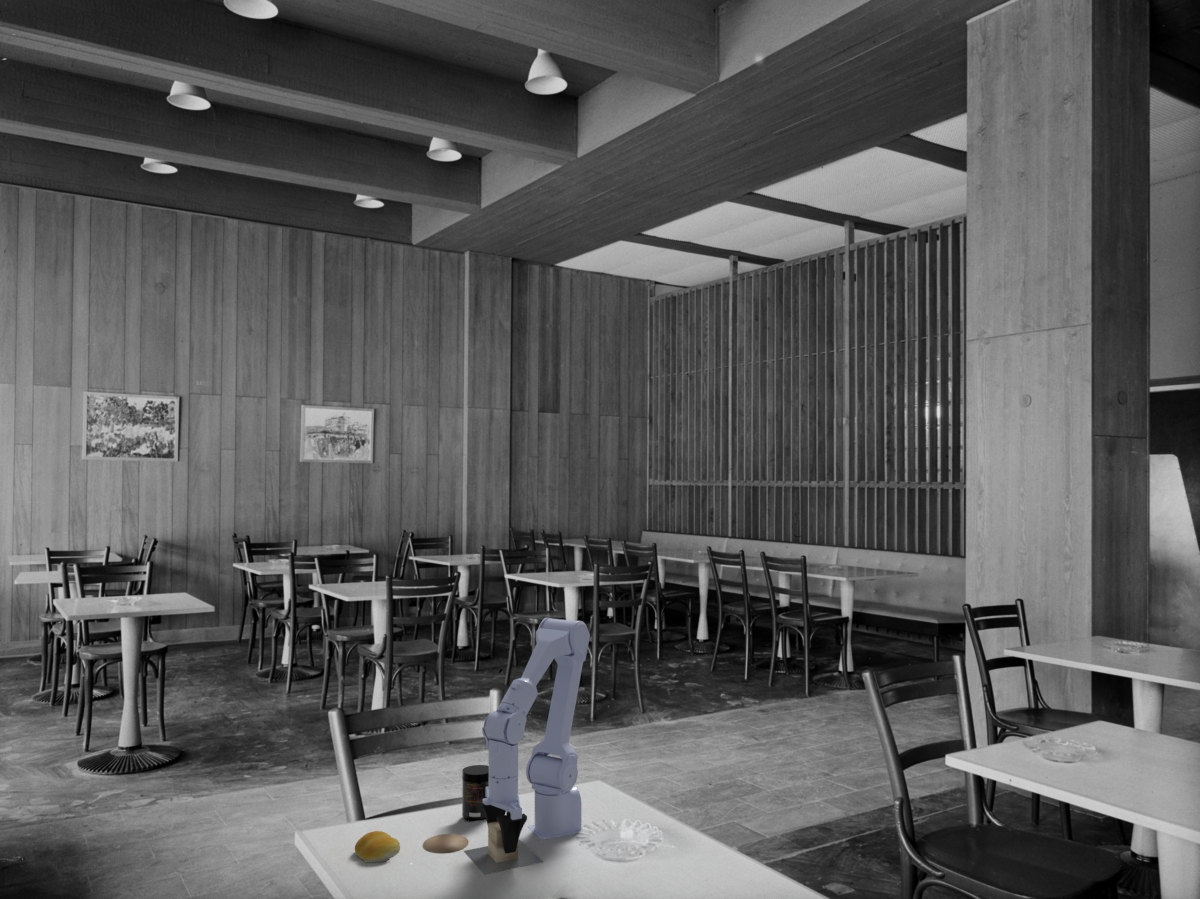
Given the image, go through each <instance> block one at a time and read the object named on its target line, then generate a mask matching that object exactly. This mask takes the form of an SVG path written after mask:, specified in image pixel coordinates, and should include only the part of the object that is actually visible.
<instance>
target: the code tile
mask: <svg viewBox="0 0 1200 899" xmlns="http://www.w3.org/2000/svg"><path fill="white" fill-rule="evenodd" d="M463 852H464V853H465V854H466V856H467V857H468V858H469V859H470V861H472V862H473V863H474V864H475V866H476V867H477V868H478V869H479V870H480V871H481V872H482V873H483V874H484V875H490V874H495V873H499V872H502V871H507V870H512V869H517V868H523V867H526V866H532V865H536V864H541V863H544V862H545V861H544V860H542V859H541V858H540V857H539V856H538V855H537V854H536V853H535V852H534V851H533V850H532V849H531V848H530V847H528V846H527V845H526V843H524V842H523V841H522V840H521V839H519V840H518V858H517V859H512V860H507V861H503V862H498V863H496V862H495V861H494V860H493V859H492V858H491V857H490V856H489V855H488V845H487V846H482V847H476V848H472V849H471V848H470V849H466V850H463Z"/></svg>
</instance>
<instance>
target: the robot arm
mask: <svg viewBox="0 0 1200 899" xmlns="http://www.w3.org/2000/svg"><path fill="white" fill-rule="evenodd" d="M590 638H591V634H590V632H589V629H588V626H587V625H586V623H585V622H584V621H582V620H568V619H558V618H551V617H545V618H543V619H542V621H540V623H539V626H538V628H537V629H536V631H535V642H536V644H535V647H534V649H533V651H532V653H531V655H530V657H529V660H528V662H527V664H526V666H525V668H524V671H523V673H522V675H521V677H520V678H516V679H513V681H512V682H511V684H510V686H509V687H508V689H507V691H506V693H505V694H504V696H503V698H502V699H501V701H500V704H499V705H498V707H497V708H496V710H493V711H492V712H490V713H489V714H487V716H486V718H485V719H484V723H483V727H482V728H481V731H482V733H481V734H482V736H483V737H484V740H485V745H486V746H485V747H486V749H487V750H488V766H489V786H488V787H486V797H487V798H484V799H483V801H482V802H480V805H481V807H482V809H483V811H484V814H485V817H486V819H485V820H486V824H487V826H488V823H492V822H497V821H498V823H499V825H500V828H501V833H502V839H503V848H504V852H505V853H506V854H507V853H512V852H516V849H517V845H518V840H520V835H521V832H522V829H523V827H524V825H525V823H526V822H527V820H528V815H526V814H525V813H523V808H522V807H521V804H520V797H519V742H520V741H521V739H522V738H523V737H524V734H525V730H526V723H527V720H528V718H527V715H528V714H529V712H530V710H531V708H532V706H533V704H534V703H535V701H536V699H537V697H538V695H539V693H538V689H537V685H538V684H539V682H540V681H541V679H542V678H543V676H544V675H545V673H546V672H547V670H548V668H549V667H550V665H551V664H552V662H553V661H554V660H555V662H556V664H557V669H556V673H555V678H554V684H553V685H554V686H553V690H552V695H551V700H550V707H549V712H548V715H547V716H548V718H547V721H546V728H545V733H544V739H542V740H541V741H540V742H538V743H537V744H536V745H534V746H533V747H532V751H531V755H530V757H529V760H528V762H527V763H526V767H525V768H526V769H525V775H526V779H527V781H528V782H529V784H531V790H534V824H533V825H528V826H527V828H528V829H529V830H530V831H531V832H532V833H533V834H534V835H536V836H537V837H538V838H539V839H540V840H547V839H553V838H557V837H562V836H569V835H573V834H574V835H575V834H579V833H583V829H582V796H581V793H580V790H579V788H578V787H577V786H575V785H576V784H577V780H578V774H579V773H578V772H579V771H578V758H579V755H578V753H577V752H576V751H575V750H574V749H573V747H572V746H571V745H570V739H571V733H572V726H573V720H574V715H575V709H576V705H577V698H578V693H579V692H578V691H579V686H580V681H581V676H582V669H583V665H584V662H586V660H587V653H588V648H589V642H590ZM550 755H552V756H550ZM554 755H555V756H558V757H555V756H554Z"/></svg>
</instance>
